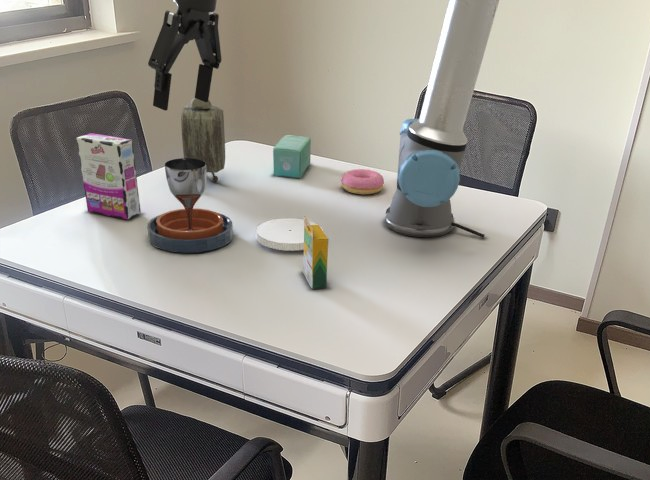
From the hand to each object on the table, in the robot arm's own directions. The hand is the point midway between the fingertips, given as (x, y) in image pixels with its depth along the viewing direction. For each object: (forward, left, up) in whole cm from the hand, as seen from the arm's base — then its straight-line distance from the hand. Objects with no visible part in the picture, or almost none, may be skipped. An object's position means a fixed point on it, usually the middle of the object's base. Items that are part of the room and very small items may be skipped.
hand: (181, 104), depth 140 cm
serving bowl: (-2, +1, -26) cm, 26 cm away
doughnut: (+3, -50, -26) cm, 56 cm away
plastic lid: (-15, -15, -26) cm, 34 cm away
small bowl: (-2, +1, -26) cm, 26 cm away
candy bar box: (+20, +8, -27) cm, 34 cm away
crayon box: (-33, -8, -26) cm, 43 cm away
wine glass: (-2, +1, -26) cm, 26 cm away
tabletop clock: (+28, -20, -26) cm, 43 cm away
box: (+25, -44, -26) cm, 57 cm away
